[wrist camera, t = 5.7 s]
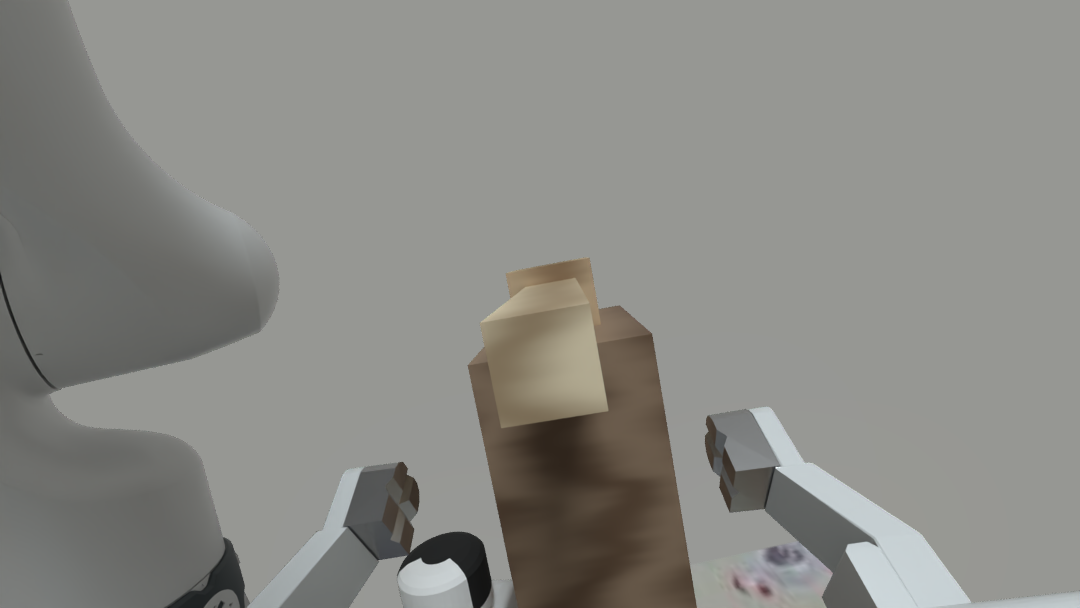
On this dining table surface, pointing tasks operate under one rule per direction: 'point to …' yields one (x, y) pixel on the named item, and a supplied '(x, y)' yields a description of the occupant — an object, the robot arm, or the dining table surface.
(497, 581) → the medicine bottle
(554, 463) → the stand
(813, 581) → the dining table surface
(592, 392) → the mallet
